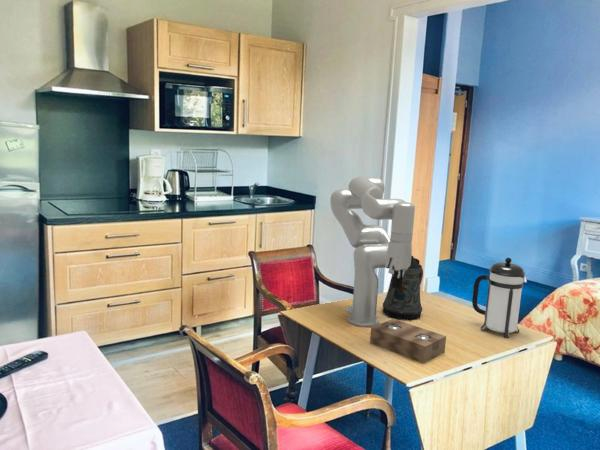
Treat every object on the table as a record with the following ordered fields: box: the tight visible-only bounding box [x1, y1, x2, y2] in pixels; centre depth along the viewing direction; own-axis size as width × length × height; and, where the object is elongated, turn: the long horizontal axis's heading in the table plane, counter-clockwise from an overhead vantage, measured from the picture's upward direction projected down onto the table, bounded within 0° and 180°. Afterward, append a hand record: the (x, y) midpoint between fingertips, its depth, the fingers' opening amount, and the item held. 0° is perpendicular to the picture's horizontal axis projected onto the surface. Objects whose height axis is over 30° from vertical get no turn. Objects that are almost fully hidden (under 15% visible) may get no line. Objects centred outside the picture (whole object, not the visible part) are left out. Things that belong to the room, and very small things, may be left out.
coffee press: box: [471, 257, 527, 339], centre depth 201 cm, size 17×16×30 cm
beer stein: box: [382, 255, 424, 321], centre depth 217 cm, size 16×19×25 cm
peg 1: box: [388, 325, 399, 330], centre depth 185 cm, size 4×4×6 cm
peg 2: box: [417, 335, 429, 340], centre depth 177 cm, size 4×4×6 cm
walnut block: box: [369, 318, 447, 365], centre depth 181 cm, size 22×14×6 cm, turn 46°
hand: (396, 287), depth 183 cm, fingers closed
